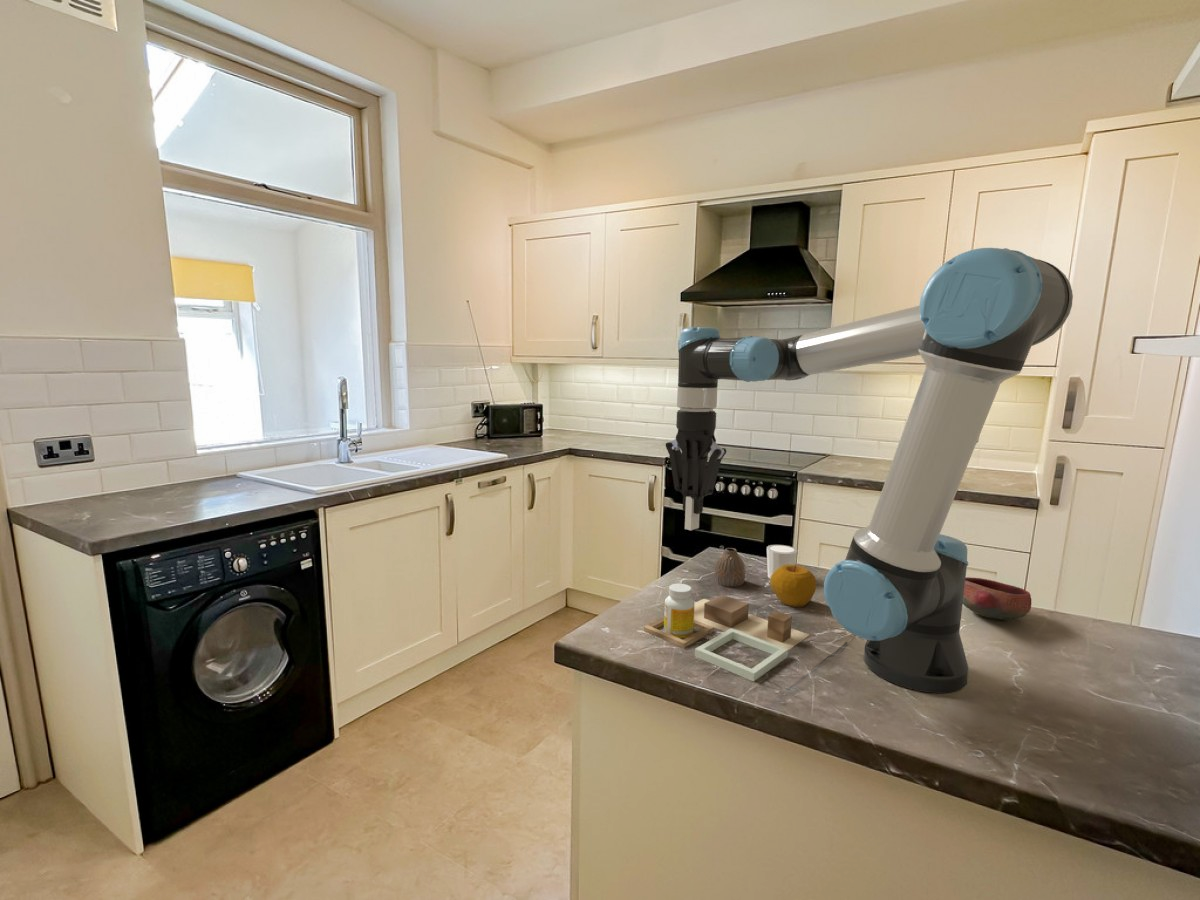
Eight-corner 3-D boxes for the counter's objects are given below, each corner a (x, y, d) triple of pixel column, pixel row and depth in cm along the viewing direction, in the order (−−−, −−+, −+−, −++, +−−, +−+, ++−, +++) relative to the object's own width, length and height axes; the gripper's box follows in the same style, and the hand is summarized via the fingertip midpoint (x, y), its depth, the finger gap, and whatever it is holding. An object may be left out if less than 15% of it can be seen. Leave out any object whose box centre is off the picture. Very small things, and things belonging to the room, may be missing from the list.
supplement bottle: (657, 636, 108) (658, 586, 106) (677, 628, 111) (679, 579, 110) (679, 647, 104) (680, 595, 102) (699, 638, 107) (701, 588, 106)
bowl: (945, 600, 126) (948, 564, 125) (1014, 607, 123) (1018, 571, 121) (971, 633, 110) (975, 593, 109) (1050, 642, 107) (1055, 601, 106)
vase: (726, 579, 137) (728, 542, 136) (751, 588, 132) (753, 550, 130) (707, 586, 133) (708, 548, 131) (731, 595, 127) (733, 556, 126)
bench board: (809, 641, 107) (811, 613, 106) (783, 660, 100) (784, 631, 99) (703, 603, 123) (704, 580, 122) (674, 618, 116) (675, 592, 115)
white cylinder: (775, 570, 143) (777, 542, 142) (801, 578, 138) (803, 549, 137) (759, 576, 139) (760, 547, 138) (784, 585, 134) (786, 555, 133)
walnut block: (748, 618, 113) (748, 603, 113) (731, 628, 109) (731, 612, 108) (721, 609, 117) (721, 594, 117) (703, 618, 113) (704, 603, 113)
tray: (787, 663, 99) (788, 649, 98) (753, 688, 91) (754, 673, 90) (730, 641, 106) (730, 628, 106) (694, 662, 98) (695, 648, 98)
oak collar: (713, 637, 108) (713, 627, 107) (683, 654, 101) (683, 643, 101) (673, 622, 114) (674, 612, 114) (643, 637, 107) (643, 626, 107)
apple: (760, 605, 122) (762, 564, 121) (783, 594, 128) (785, 555, 127) (800, 620, 115) (803, 576, 114) (823, 607, 121) (825, 565, 120)
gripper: (736, 410, 111) (730, 531, 115) (681, 406, 120) (676, 518, 124) (714, 413, 106) (708, 539, 110) (657, 408, 115) (654, 525, 119)
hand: (691, 528), depth 117 cm, fingers closed
